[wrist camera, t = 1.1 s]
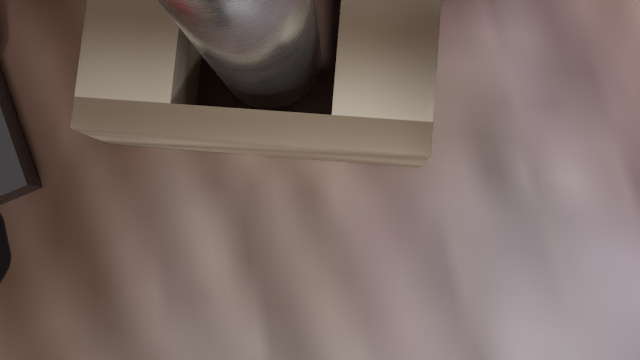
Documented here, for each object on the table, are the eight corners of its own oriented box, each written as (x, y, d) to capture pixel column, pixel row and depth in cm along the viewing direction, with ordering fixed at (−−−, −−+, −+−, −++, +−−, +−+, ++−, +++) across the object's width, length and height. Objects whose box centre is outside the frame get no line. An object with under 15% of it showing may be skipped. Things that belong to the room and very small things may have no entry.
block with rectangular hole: (419, 167, 21) (430, 155, 18) (108, 143, 22) (70, 128, 19) (431, -26, 22) (445, -68, 19) (131, -43, 22) (98, -86, 19)
